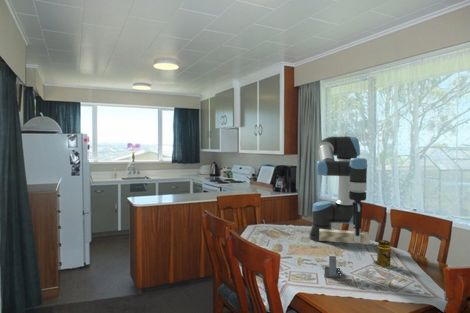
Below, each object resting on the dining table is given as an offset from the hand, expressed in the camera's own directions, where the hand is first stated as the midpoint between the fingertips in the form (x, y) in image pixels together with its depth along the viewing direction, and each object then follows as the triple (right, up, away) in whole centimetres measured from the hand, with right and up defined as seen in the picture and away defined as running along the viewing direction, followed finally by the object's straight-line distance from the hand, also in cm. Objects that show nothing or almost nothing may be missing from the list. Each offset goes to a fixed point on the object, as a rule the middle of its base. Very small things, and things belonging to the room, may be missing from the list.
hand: (356, 240), depth 151 cm
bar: (-6, -1, +2) cm, 6 cm away
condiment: (+17, -15, +11) cm, 25 cm away
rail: (-12, -15, -1) cm, 19 cm away
